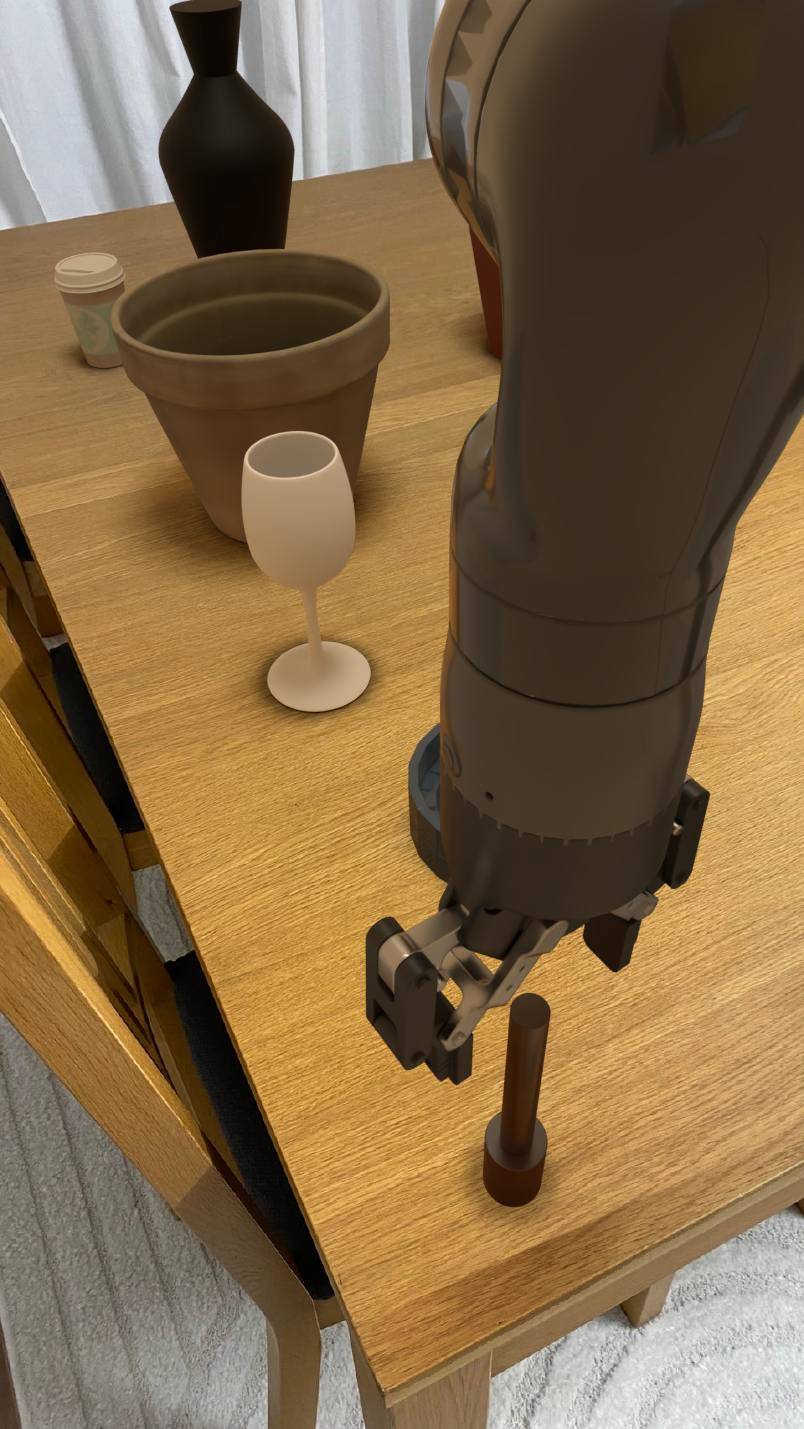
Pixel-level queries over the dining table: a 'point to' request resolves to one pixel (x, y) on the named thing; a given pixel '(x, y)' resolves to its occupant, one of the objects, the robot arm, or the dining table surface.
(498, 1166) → the muddler
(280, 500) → the wineglass
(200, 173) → the vase
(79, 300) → the coffee cup
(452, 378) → the dining table surface
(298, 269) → the flower pot
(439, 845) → the bowl
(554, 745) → the robot arm
